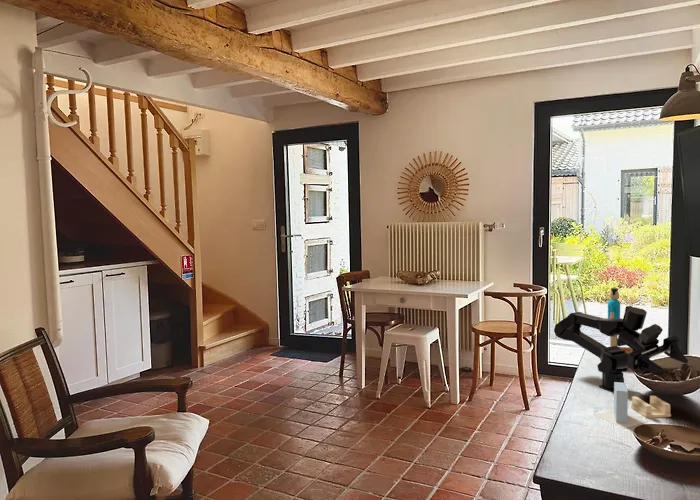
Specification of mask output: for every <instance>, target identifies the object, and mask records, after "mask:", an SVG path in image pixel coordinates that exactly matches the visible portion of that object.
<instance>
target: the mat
mask: <svg viewBox="0 0 700 500" xmlns="http://www.w3.org/2000/svg"><path fill="white" fill-rule="evenodd" d="M594 416H595V417H598V418H600V419H602V420H604V421H606V422H610V423H612V424H614V425H616V426H619V427H620V428H623V429H626V428H630V427H634V426H638V425H642V424H644V423H648V422H649V421H647V420H645V419H643V418H640V417H637V416H635V415H633V414H630V413H629V412H627V424H623V423H616V420H615V415H614V409H612V410H608V411H605V412H601V413H597V414H594Z"/></svg>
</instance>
